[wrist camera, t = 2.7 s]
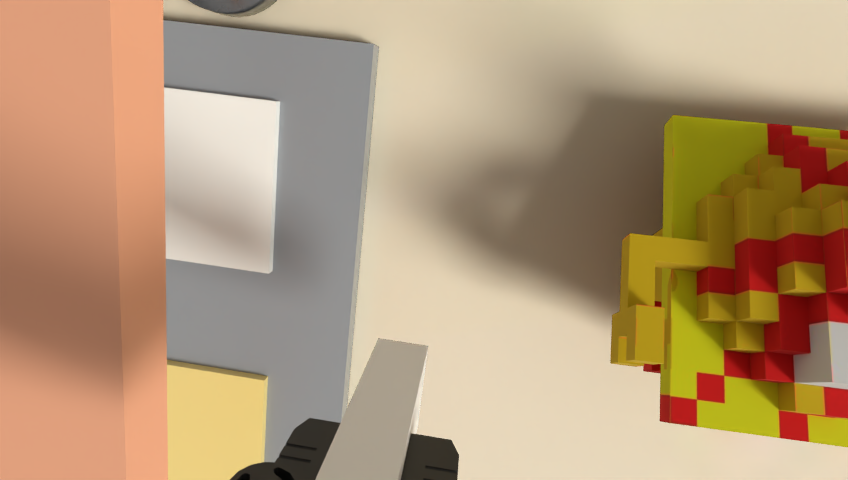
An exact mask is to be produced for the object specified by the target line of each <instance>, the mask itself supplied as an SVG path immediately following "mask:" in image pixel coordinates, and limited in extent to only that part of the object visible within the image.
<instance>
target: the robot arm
mask: <svg viewBox="0 0 848 480" xmlns="http://www.w3.org/2000/svg"><path fill="white" fill-rule="evenodd" d="M427 352H428V346H425V345H419V344H412V343H406V342H399V341H393V340H386V339H380V338H378V341H377V343H376V345H375V347H374V350H373V352H372V354H371V356H370V358H369V361H368V363H367V365H366V367H365V370H364V372H363V374H362V376H361V379H360V381H359V383H358V385H357V388H356V390H355V392H354V394H353V396H352V399H351V401H350V403H349V405H348V408H347V410H346V412H345V414H344V417H343V419H342V421H341V423H338V422H332V421H326V420H320V419H314V418H309V419H307V420H306V421H304V422H303V423H302V424H300V425H299V426H297V427H296V428H295V429H294V430H293V432H292V434H291V435H290V437H289V439H288V440H287V442H286V445H285V446H284V447H283V449H282V451H281V452H280V454H279V458H277V459H276V461H275V462H262V463H257V464H253V465H249V466H247V467H245V468H244V469H242V470H240V471H238V472H237V473H236V474H235V475H234V476H233V477H232V478H231V479H230V480H457V475H458V474H457V473H458V460H459V454H458V452H457V450H456V448H455V446H454V444H453V442H452V440H448V439H442V438H436V437H430V436H424V435H418V434H416V433H417V428H418V421H419V413H420V406H421V398H422V390H423V382H424V375H425V367H426V359H427Z"/></svg>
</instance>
